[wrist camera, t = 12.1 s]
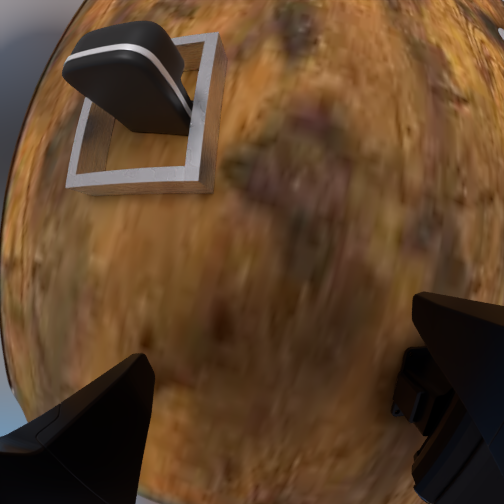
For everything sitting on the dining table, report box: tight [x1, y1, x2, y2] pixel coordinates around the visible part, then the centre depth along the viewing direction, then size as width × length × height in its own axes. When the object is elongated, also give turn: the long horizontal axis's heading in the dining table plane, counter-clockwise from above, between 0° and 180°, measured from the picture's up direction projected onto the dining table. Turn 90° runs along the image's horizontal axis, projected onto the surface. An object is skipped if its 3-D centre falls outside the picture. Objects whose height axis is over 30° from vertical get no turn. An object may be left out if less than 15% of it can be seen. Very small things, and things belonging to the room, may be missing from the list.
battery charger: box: [62, 21, 194, 135], centre depth 16 cm, size 7×4×11 cm, turn 78°
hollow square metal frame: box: [66, 32, 227, 196], centre depth 20 cm, size 12×13×4 cm
